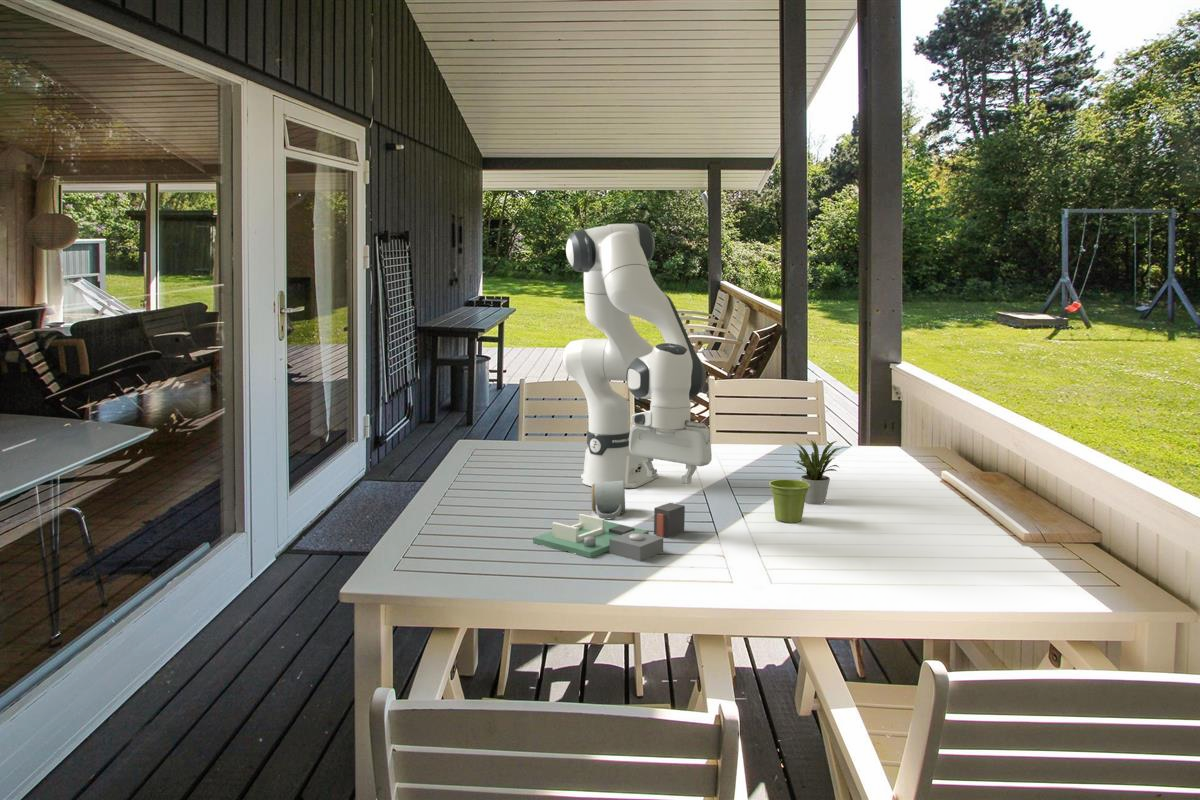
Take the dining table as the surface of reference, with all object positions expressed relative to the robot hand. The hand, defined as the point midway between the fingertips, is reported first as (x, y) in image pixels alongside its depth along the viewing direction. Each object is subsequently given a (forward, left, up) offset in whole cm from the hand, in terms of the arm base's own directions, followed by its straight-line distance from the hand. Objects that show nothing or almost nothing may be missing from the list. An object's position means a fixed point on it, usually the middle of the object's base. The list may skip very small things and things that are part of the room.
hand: (668, 480), depth 212 cm
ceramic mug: (-5, -20, -12) cm, 24 cm away
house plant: (-48, +13, -12) cm, 51 cm away
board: (+14, -10, -12) cm, 21 cm away
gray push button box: (+15, +3, -12) cm, 20 cm away
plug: (-1, 0, -12) cm, 12 cm away
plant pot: (-28, +15, -12) cm, 34 cm away
